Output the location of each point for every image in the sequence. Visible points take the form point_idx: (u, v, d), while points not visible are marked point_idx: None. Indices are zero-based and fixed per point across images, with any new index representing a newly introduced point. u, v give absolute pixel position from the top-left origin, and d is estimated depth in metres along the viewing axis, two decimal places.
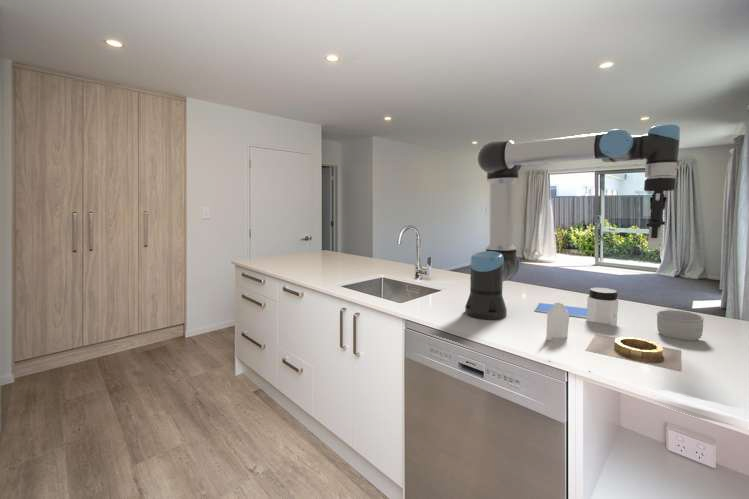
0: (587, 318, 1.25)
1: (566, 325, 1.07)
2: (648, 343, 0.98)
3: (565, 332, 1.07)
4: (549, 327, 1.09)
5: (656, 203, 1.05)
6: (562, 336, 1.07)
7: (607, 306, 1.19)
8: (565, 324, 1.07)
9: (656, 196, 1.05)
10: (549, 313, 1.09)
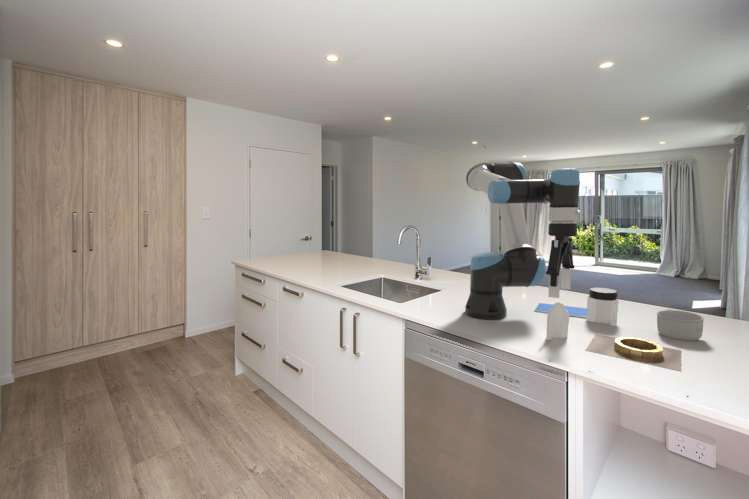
0: (587, 318, 1.25)
1: (566, 325, 1.07)
2: (648, 343, 0.98)
3: (565, 332, 1.07)
4: (549, 327, 1.09)
5: (554, 250, 1.01)
6: (562, 336, 1.07)
7: (607, 306, 1.19)
8: (565, 324, 1.07)
9: (554, 243, 1.01)
10: (549, 313, 1.09)
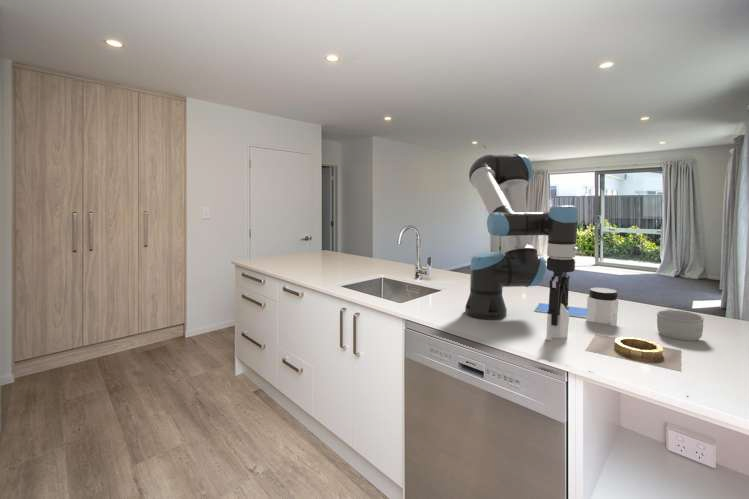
0: (587, 318, 1.25)
1: (566, 325, 1.07)
2: (648, 343, 0.98)
3: (565, 332, 1.07)
4: (549, 327, 1.09)
5: (553, 291, 1.03)
6: (562, 336, 1.07)
7: (607, 306, 1.19)
8: (565, 324, 1.07)
9: (553, 285, 1.03)
10: None
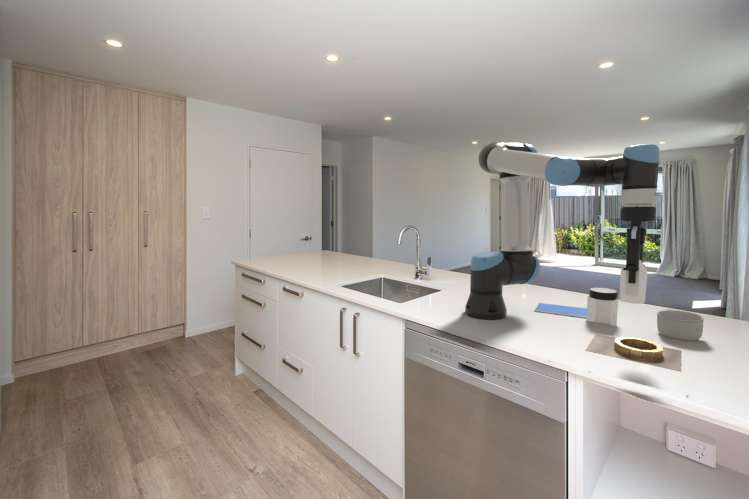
0: (587, 318, 1.25)
1: (645, 283, 0.93)
2: (648, 343, 0.98)
3: (643, 291, 0.94)
4: (624, 287, 0.95)
5: (632, 243, 0.90)
6: (640, 296, 0.93)
7: (607, 306, 1.19)
8: (644, 281, 0.93)
9: (632, 235, 0.90)
10: (623, 270, 0.96)
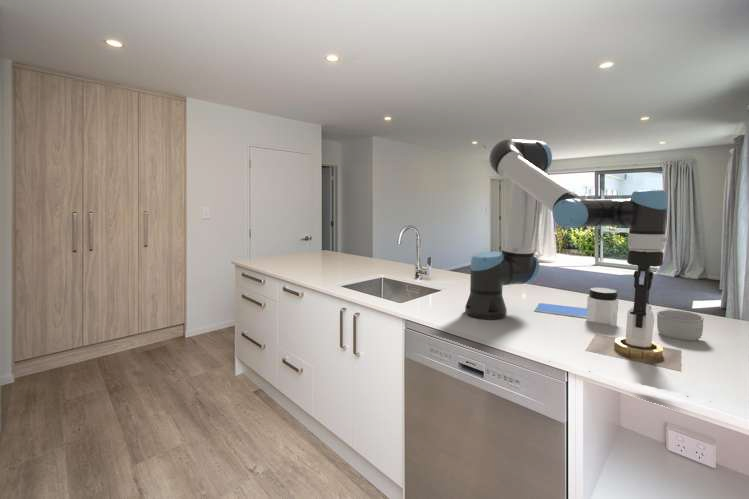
0: (587, 318, 1.25)
1: (652, 327, 0.94)
2: None
3: (650, 335, 0.94)
4: (631, 330, 0.95)
5: (640, 288, 0.90)
6: (647, 339, 0.94)
7: (607, 306, 1.19)
8: (651, 325, 0.93)
9: (640, 281, 0.90)
10: None
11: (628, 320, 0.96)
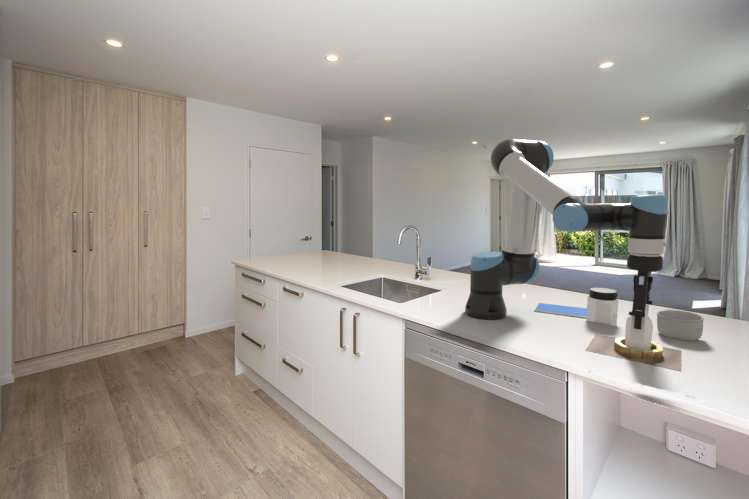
0: (587, 318, 1.25)
1: (650, 335, 0.94)
2: None
3: (649, 343, 0.94)
4: (629, 338, 0.96)
5: (640, 288, 0.89)
6: (646, 347, 0.94)
7: (607, 306, 1.19)
8: (649, 333, 0.94)
9: (640, 280, 0.90)
10: (629, 321, 0.96)
11: (627, 328, 0.97)
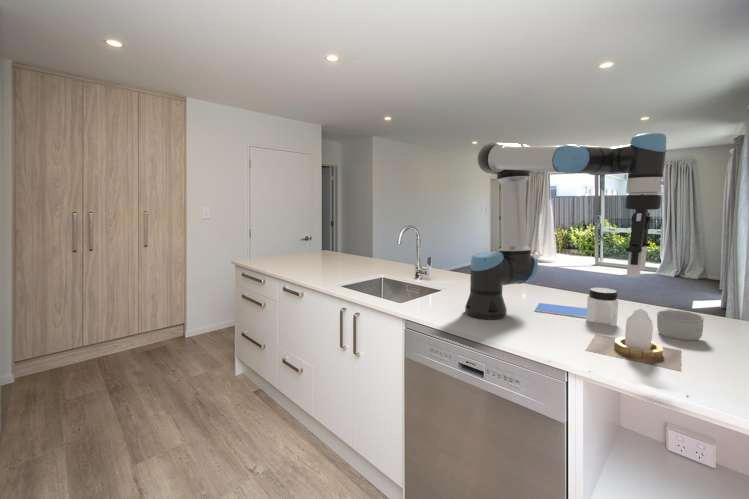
0: (587, 318, 1.25)
1: (650, 335, 0.94)
2: None
3: (649, 343, 0.94)
4: (630, 338, 0.96)
5: (637, 224, 0.91)
6: (646, 347, 0.94)
7: (607, 306, 1.19)
8: (649, 333, 0.94)
9: (637, 216, 0.91)
10: (629, 321, 0.96)
11: (627, 328, 0.97)
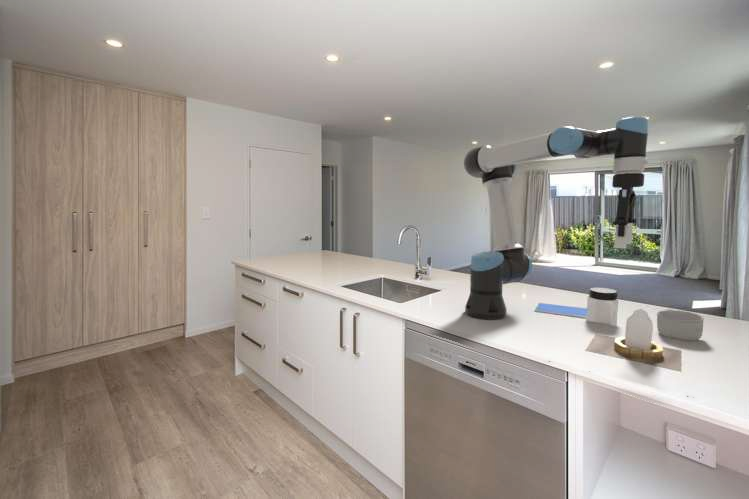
0: (587, 318, 1.25)
1: (650, 335, 0.94)
2: None
3: (649, 343, 0.94)
4: (630, 338, 0.96)
5: (623, 199, 1.00)
6: (646, 347, 0.94)
7: (607, 306, 1.19)
8: (649, 333, 0.94)
9: (623, 192, 1.00)
10: (629, 321, 0.96)
11: (627, 328, 0.97)
